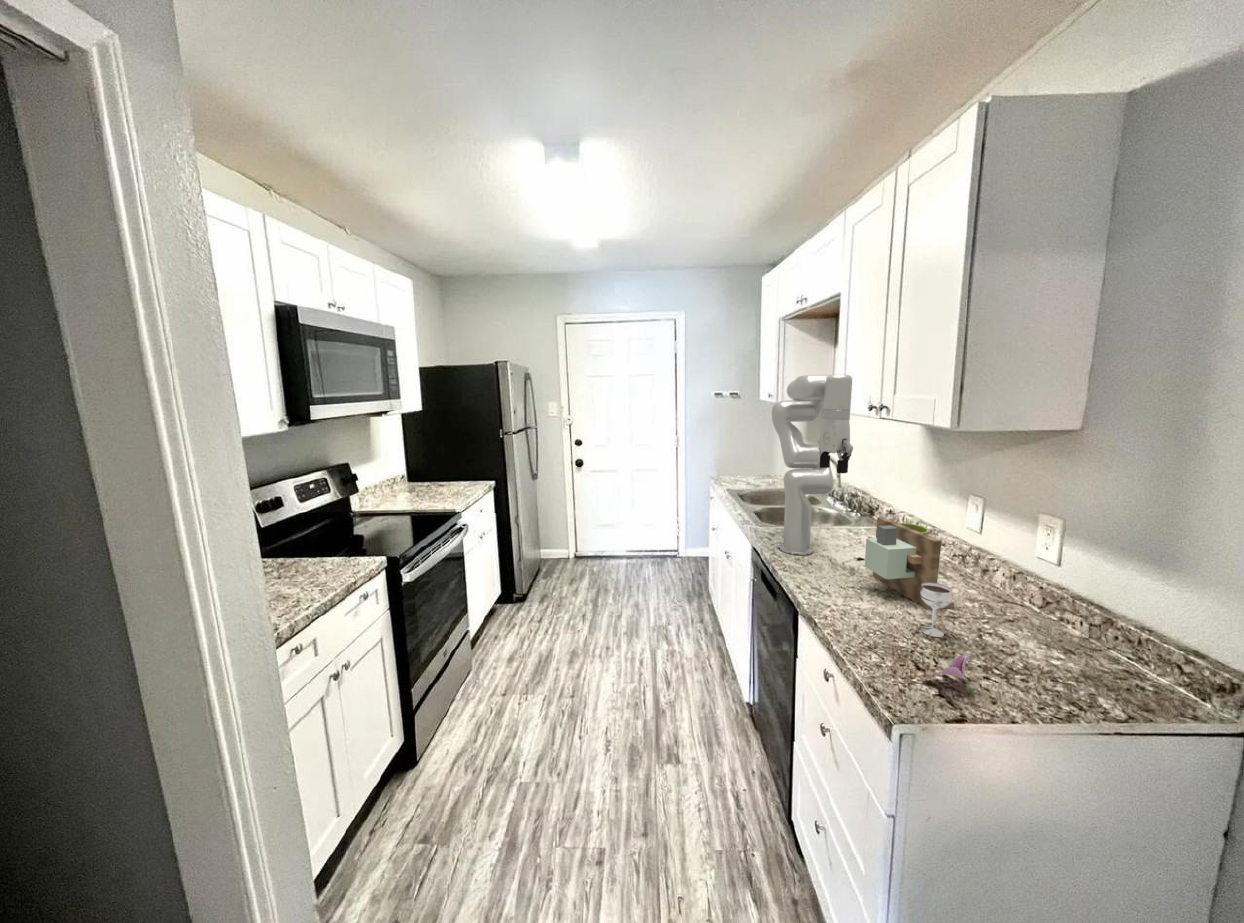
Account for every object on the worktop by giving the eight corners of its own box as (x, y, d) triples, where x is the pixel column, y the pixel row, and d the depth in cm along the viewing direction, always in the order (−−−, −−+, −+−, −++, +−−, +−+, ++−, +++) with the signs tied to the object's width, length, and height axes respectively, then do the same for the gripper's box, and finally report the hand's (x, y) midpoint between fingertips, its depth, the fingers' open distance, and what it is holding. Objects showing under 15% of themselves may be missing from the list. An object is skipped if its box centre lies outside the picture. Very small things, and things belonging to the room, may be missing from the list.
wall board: (865, 576, 154) (870, 517, 151) (895, 574, 155) (900, 516, 152) (919, 610, 131) (926, 541, 128) (953, 607, 132) (961, 539, 129)
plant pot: (880, 554, 174) (883, 525, 172) (901, 549, 179) (904, 521, 177) (911, 565, 163) (914, 534, 161) (933, 559, 168) (936, 529, 166)
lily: (976, 680, 101) (954, 636, 104) (1017, 693, 90) (991, 643, 92) (925, 699, 101) (904, 654, 103) (960, 715, 89) (935, 664, 92)
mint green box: (864, 566, 145) (867, 522, 142) (890, 564, 146) (893, 521, 144) (886, 579, 135) (889, 532, 133) (914, 577, 136) (918, 531, 134)
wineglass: (933, 640, 115) (938, 594, 113) (910, 627, 122) (914, 583, 120) (954, 636, 117) (959, 591, 115) (930, 623, 123) (935, 580, 122)
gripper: (810, 414, 151) (807, 466, 154) (841, 417, 134) (837, 475, 137) (832, 413, 152) (828, 465, 155) (865, 417, 135) (861, 475, 138)
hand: (833, 470), depth 146 cm, fingers open, 9 cm apart
